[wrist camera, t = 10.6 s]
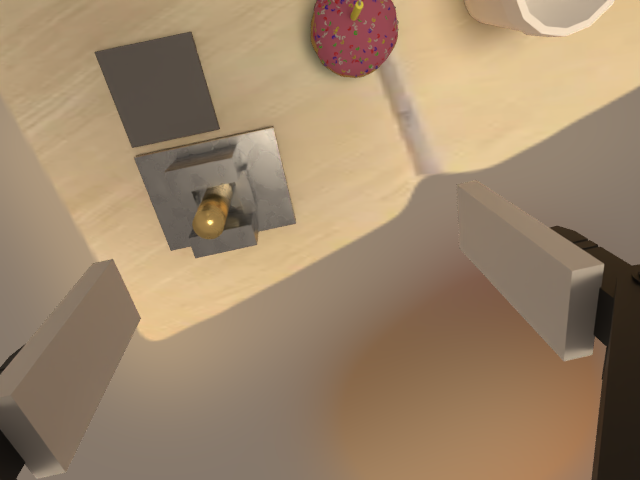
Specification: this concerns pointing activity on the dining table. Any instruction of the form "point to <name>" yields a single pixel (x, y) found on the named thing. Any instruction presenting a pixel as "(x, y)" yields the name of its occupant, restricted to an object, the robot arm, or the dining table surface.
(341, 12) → the cupcake
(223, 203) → the peg
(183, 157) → the bracket
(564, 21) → the foam cup
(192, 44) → the mat
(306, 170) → the dining table surface
